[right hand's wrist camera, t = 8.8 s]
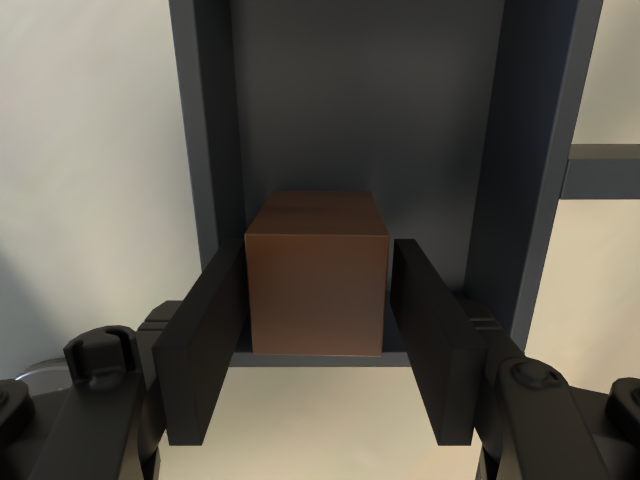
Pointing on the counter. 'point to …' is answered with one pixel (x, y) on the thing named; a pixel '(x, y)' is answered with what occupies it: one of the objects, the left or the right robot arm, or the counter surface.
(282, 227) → the walnut block
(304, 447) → the counter surface
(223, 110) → the bin
